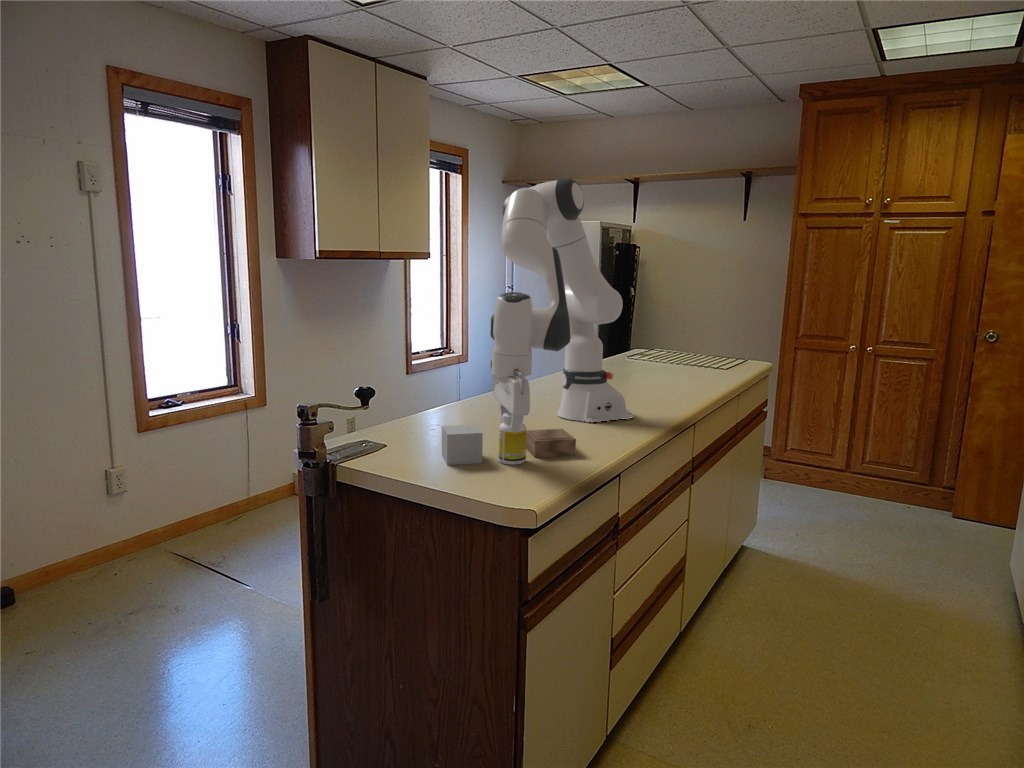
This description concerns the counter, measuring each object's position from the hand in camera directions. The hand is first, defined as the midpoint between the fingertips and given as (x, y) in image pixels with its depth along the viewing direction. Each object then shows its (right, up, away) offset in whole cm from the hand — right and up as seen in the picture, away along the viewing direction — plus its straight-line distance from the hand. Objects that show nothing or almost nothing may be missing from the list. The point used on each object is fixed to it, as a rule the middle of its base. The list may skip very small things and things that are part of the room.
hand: (509, 426), depth 150 cm
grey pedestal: (-11, -8, +3) cm, 14 cm away
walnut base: (+9, -7, +11) cm, 16 cm away
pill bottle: (+1, -8, +2) cm, 8 cm away
